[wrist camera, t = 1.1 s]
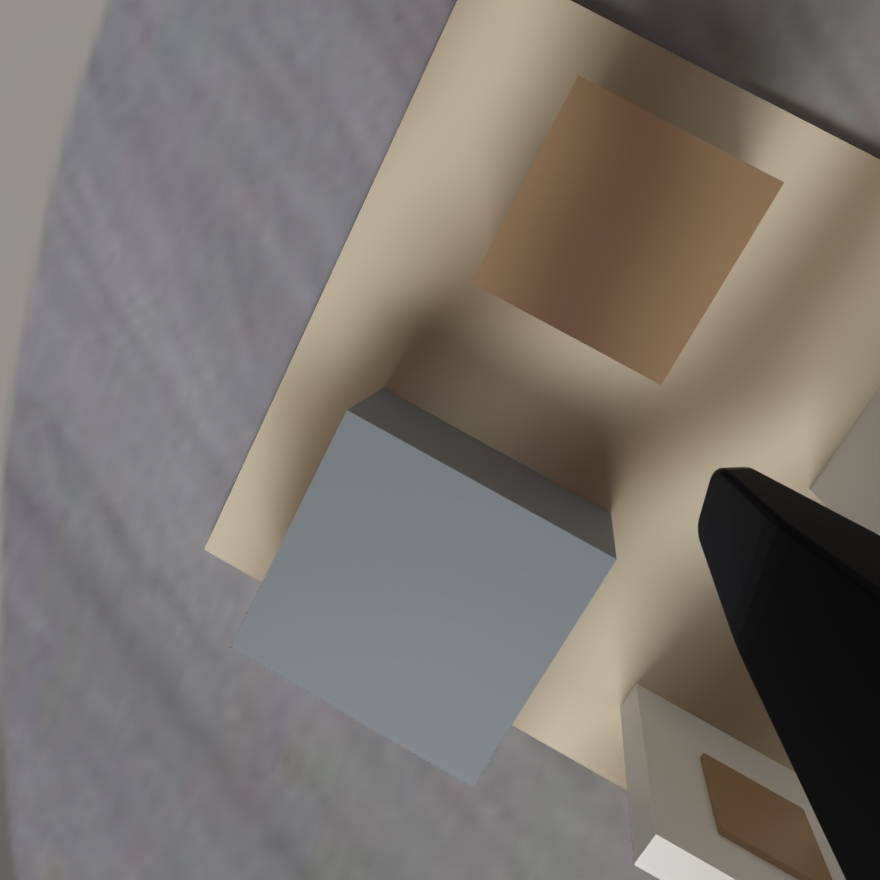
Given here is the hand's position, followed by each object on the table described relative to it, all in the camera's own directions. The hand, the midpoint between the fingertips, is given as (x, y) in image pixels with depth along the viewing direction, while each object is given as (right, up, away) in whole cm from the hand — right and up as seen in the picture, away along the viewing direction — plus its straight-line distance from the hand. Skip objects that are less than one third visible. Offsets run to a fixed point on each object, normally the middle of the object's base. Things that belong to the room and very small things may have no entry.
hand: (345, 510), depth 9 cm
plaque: (+10, -9, +16) cm, 21 cm away
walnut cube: (+6, +7, +13) cm, 16 cm away
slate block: (+1, -3, +16) cm, 16 cm away
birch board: (+7, 0, +15) cm, 17 cm away
